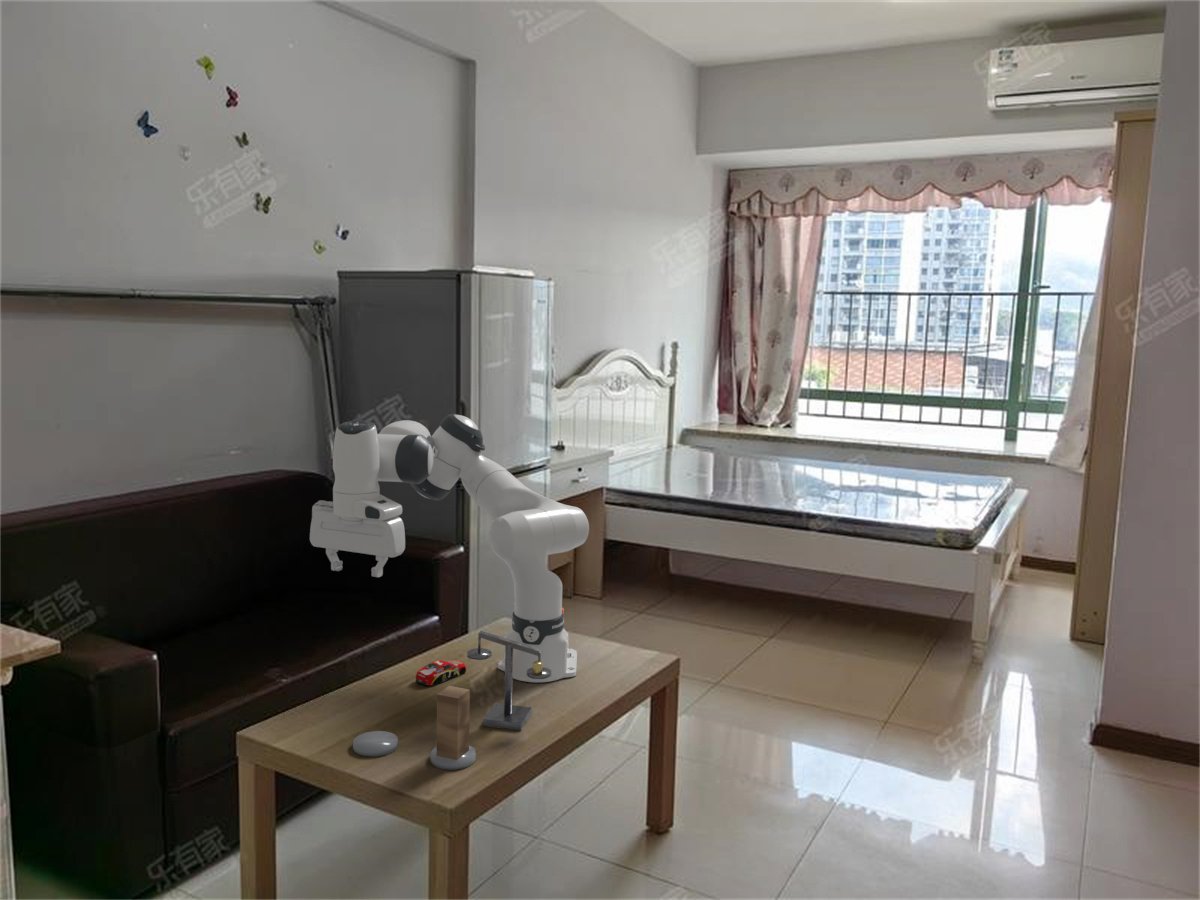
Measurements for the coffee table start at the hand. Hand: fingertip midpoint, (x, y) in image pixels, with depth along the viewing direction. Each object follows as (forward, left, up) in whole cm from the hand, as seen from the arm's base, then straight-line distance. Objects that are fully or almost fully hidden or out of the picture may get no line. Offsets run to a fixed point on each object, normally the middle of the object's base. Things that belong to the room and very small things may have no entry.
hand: (356, 573), depth 185 cm
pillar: (+10, +24, -30) cm, 40 cm away
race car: (-27, +8, -32) cm, 42 cm away
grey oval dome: (+9, +8, -31) cm, 33 cm away
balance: (-9, +29, -31) cm, 43 cm away
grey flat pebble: (+10, +24, -31) cm, 41 cm away
